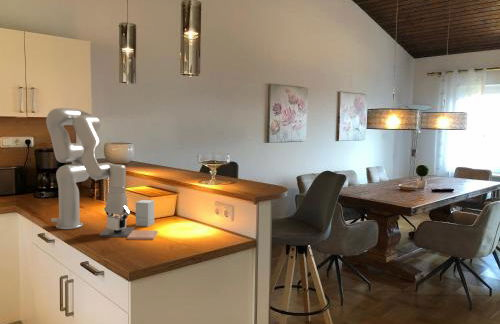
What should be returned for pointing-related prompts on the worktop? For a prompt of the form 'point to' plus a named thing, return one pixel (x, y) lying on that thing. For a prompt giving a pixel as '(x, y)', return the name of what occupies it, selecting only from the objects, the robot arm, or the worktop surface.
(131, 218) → the worktop surface
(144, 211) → the supplement box
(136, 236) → the coaster
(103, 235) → the post base
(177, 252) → the worktop surface
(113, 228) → the pale grey cube
